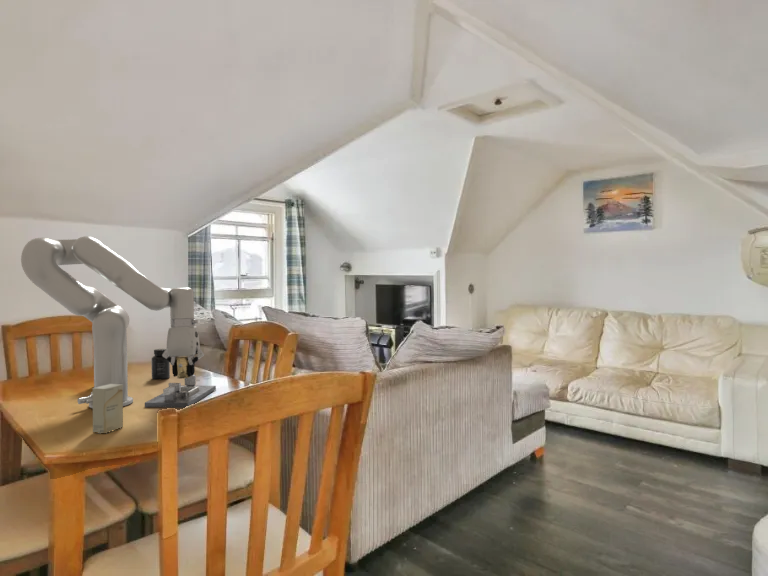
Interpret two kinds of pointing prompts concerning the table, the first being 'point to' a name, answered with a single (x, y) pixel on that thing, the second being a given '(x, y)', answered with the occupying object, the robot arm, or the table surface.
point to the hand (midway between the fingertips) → (183, 375)
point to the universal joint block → (182, 367)
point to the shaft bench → (181, 394)
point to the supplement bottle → (160, 365)
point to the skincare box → (107, 408)
